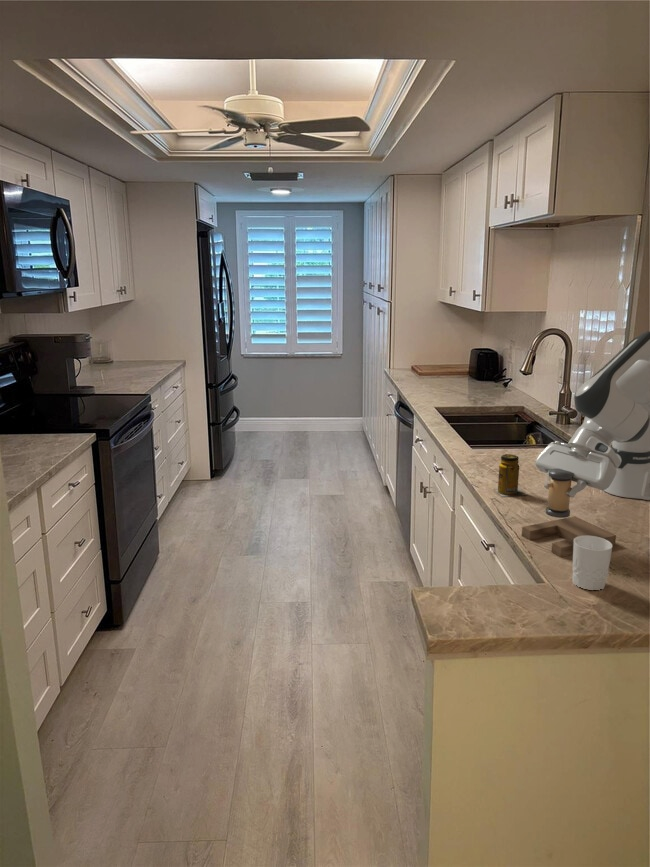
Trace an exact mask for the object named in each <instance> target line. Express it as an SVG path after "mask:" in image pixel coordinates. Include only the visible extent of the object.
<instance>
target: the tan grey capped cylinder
mask: <svg viewBox="0 0 650 867" xmlns="http://www.w3.org/2000/svg"><path fill="white" fill-rule="evenodd" d="M573 475H574V473H573V472H569V471H566V470H563V469H550V470H549V476H550V481H549V483H548V484H547V488H549V490H548V493H547V494H548V495H547V506H546V507H545V514H546V515H548V516H549V517H554V518H559V519H564V518H569V517H571V516H570V515H571V510H570V499H571V497H569V496H567V495H566V491H567V490H568V488H569V487H570V488H572V481H571V480H572V478H573Z"/></svg>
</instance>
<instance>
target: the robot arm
mask: <svg viewBox="0 0 650 867" xmlns="http://www.w3.org/2000/svg"><path fill="white" fill-rule="evenodd" d="M573 400H574V407H575V410H576V412H578V413H580V414H582V415H583V416H584V419H583V422H582V424H581V425H580V426H579V427H578V428H577V429H576V430H575V432H574V433H573V435H572V436H571V438H570V439H569V441H568V443H567V442H562V441H559V440H555V441H553V442H550V443H548V445H547V446H546V447H545V448H544V449H543V450H542V452H540V454H539V455H538V456H537V457H536V459H535V461H534V464H535V467H536V468H537V469H538V470H539V471H540V472H542V473H544V474H546V482H544V486H543V487H544V488H545V489H546V490H548V491H549V488H547V484H548V483H549V481H550V476H549V470H550V469H563V470H566V471H569V472H573V473H574V475H573V478H572V480H571V482H573V483H577V484H575V485H574V486H571V488H570V487H569V488H568V490H567V491H566V495H567V496H569V497H570V498H572V499H573V498H574V497H575V496H576V494H577V493H580V492H581V491H583V490H584V489H585V488H586V487H587V486H588V487H590V488H593V489H595V490H596V489H597V490H599V491H604V492H606V493H607V494H611V495H613V496H617V497H621V498H622V497H623V498H628V499H640V500H646V501H650V331H645V332H642V333H640V334H638V335H636V337H634V338H632V340H630V342H628V343H627V344H626V345H625V346H624V347H623V348H621V349H620V350H619V351H618V352H617V353H616V354H615V355H614V356H613V357H612V358H611V359H610V360H609V361H608V362H607V363H606V364H605V365H603V367H601V368H600V369H599V370H598V371H597V372H596V373H594V374H593V375H592V376H591V377H590V378H589V379H587V380H586V381H585V382H584V383H582V384H581V385H580V386H579V387H578V388H577V390H576V391H575V393H574V398H573ZM611 443H612V444H611Z"/></svg>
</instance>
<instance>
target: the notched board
mask: <svg viewBox="0 0 650 867" xmlns="http://www.w3.org/2000/svg"><path fill="white" fill-rule="evenodd" d="M521 529H522V530H521V537H523V538H524V539H527V540H529V541H531V540H536V539H541V538H545V537H550V536H554V535H557V536H559V537H561V538H563V539H564V540H560V541H554V542H552V543H551V551H550V552H551V553H552V554H554V555H555V554H556V556H557V557H559V558H562V557H566V556H571V555H573V543H574V538H576V537H578V536H596V537H600V538H603V539H606V540H608V541H609V542H611V544H612V546H614V545H616V539H617V535H616V534H614V533H613V532H610V531H608V530H605V529H603V528H602V527H599V526H597V525H595V524H593V523H591V522H588V521H586V520H583V519H582V518H579V517H578V516H576V515H575V516H569V517H565V518H559V519H555V520H551V521H545V522H539V523H536V524H535V523H534V524H530V525H525V526H522V527H521Z"/></svg>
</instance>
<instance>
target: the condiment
mask: <svg viewBox="0 0 650 867" xmlns="http://www.w3.org/2000/svg"><path fill="white" fill-rule="evenodd" d="M498 466H499V467H498V480H497V488H493V490H494V491H495V492H496V494H498V495H499V496H501V497H517V496H528V494H527V493H526V492H525V491H523V490H522V489H521V488H520V487H519V477H520V464H519V456H517V455H516V454H512V453H511V454H508V453H506V454H502V455H501V456H500V463H499V465H498Z"/></svg>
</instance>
